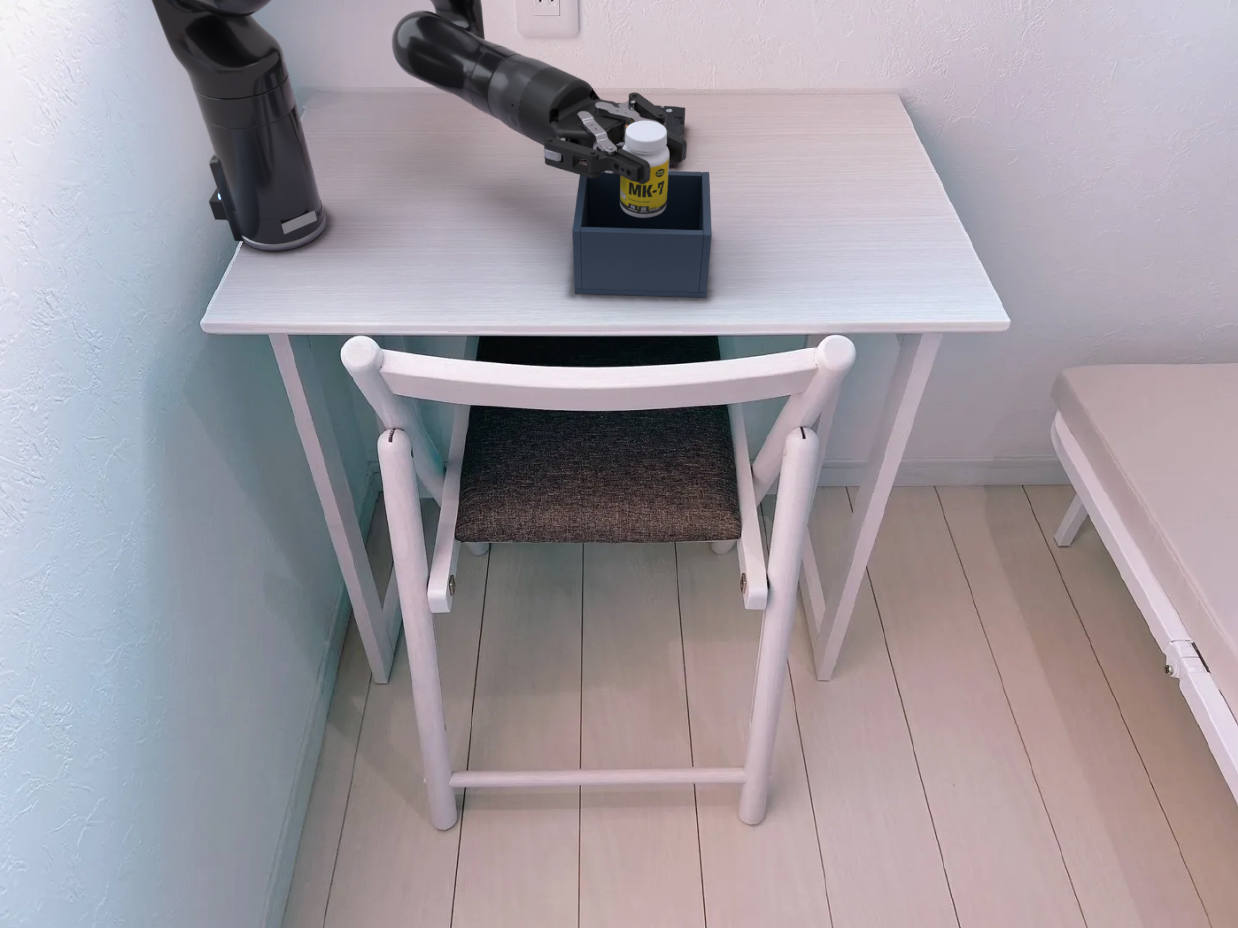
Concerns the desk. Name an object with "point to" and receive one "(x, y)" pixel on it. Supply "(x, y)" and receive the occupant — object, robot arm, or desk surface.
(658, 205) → the supplement bottle
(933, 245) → the desk surface
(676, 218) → the bin
